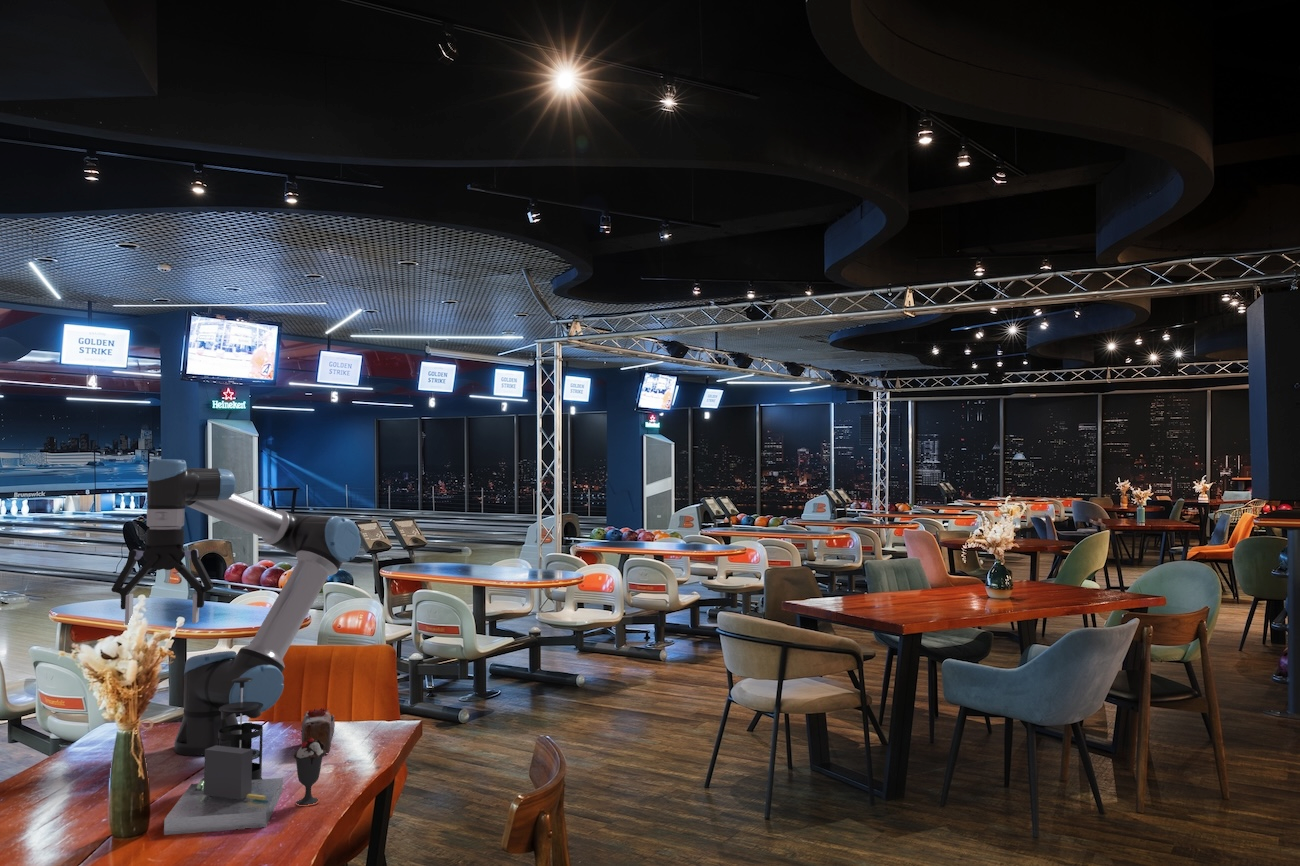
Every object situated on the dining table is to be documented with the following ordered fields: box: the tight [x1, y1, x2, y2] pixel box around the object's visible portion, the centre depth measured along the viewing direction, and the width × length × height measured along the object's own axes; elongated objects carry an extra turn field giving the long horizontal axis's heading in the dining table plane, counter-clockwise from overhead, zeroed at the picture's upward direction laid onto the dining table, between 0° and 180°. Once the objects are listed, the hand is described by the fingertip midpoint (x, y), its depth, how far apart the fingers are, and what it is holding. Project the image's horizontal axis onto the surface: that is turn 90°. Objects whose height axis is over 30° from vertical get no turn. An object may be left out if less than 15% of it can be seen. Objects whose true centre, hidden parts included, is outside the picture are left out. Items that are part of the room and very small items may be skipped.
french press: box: [218, 678, 264, 780], centre depth 202 cm, size 12×9×23 cm
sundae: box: [291, 732, 326, 805], centre depth 190 cm, size 7×7×15 cm
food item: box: [300, 708, 336, 754], centre depth 227 cm, size 14×8×10 cm, turn 21°
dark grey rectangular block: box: [203, 745, 266, 800], centre depth 184 cm, size 14×3×9 cm, turn 74°
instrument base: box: [163, 777, 284, 836], centre depth 184 cm, size 20×18×5 cm
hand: (162, 623), depth 204 cm, fingers open, 13 cm apart
